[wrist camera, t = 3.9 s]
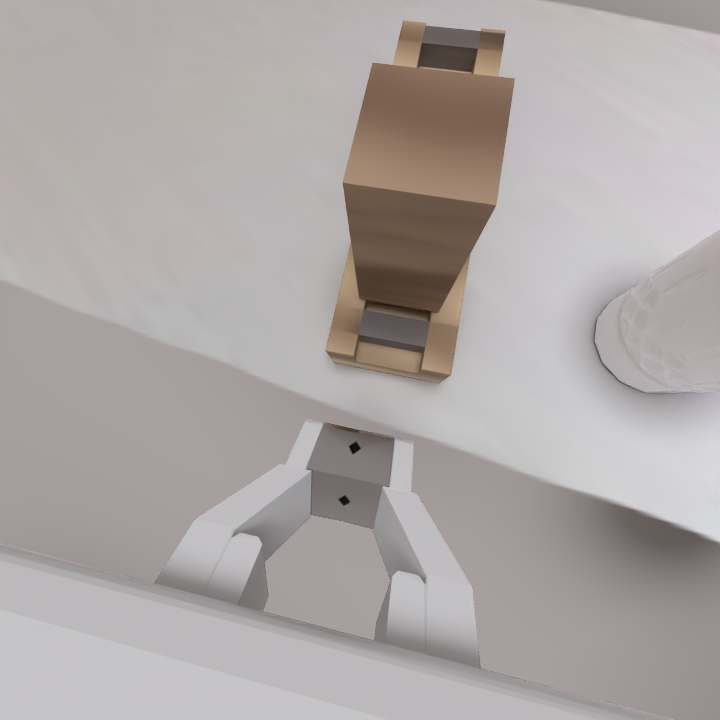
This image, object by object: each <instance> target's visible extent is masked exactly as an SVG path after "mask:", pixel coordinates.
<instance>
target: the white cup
mask: <svg viewBox="0 0 720 720" xmlns="http://www.w3.org/2000/svg"><path fill="white" fill-rule="evenodd" d="M594 341H595V344H596V347H597V349H598V352H599V355H600V358H601V360H602V363H603V364H604V365H605V366H606V367H607V368H608V369H609V370H610V371H611V372H612V373H613V374H614V376H615V377H616V378H617V379H618V380H619V381H621V382H623V383H625V384H627V385H629V386H632V387H634V388H636V389H638V390H640V391H643V392H647V393H680V392H698V393H712V392H720V230H719V231H717V232H715V233H714V234H712V235H711V236H709V237H707V238H706V239H704V240H702V241H701V242H699V243H698V244H696V245H694V246H693V247H691V248H690V249H688V250H687V251H685V252H683V253H682V254H680V255H679V256H677V257H676V258H674V259H673V260H671V261H670V262H669V263H667V264H666V265H664V266H662V267H661V268H659V269H658V270H656V271H655V272H653V273H651V274H650V275H649V276H647V277H646V278H645V279H644V280H642V281H641V282H640V283H639V284H637V285H636V286H634V287H633V288H631V289H629V290H628V291H626V292H624V293H623V294H621V295H619V296H618V297H616V298H614V299H613V300H611V301H610V302H609V303H608V305H607V306H606V307H605V309H604V310H603V311H602V313H601V314H600V315H599V317H598V318H597V323H596V331H595V339H594Z"/></svg>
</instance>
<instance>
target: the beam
mask: <svg viewBox="0 0 720 720" xmlns="http://www.w3.org/2000/svg"><path fill="white" fill-rule="evenodd" d="M504 37H505V31H502V30H492V29H481V31H473V30H463V29H453V28H443V27H433V26H426V23H421V22H411V21H403V23H402V28H401V32H400V36H399V41H398V45H397V49H396V53H395V58H394V62H393V65H397V66H406V67H415V68H424V69H433V70H442V71H451V72H460V73H468V74H477V75H486V76H495V77H498V75H499V69H500V63H501V56H502V50H503V44H504ZM469 258H470V255H469V257H468V259H467V260H466V262H465V264H464V266H463V268H462V270H461V272H460V273H459V275H458V277H457V279H456V281H455V283H454V285H453V287H452V288H451V290H450V292H449V294H448V296H447V298H446V300H445V301H444V303H443V305H442V307H441V309H440V311H439V313H438V312H432V311H427V310H422V311H421V312H420V311H415V310H409V309H404V308H398V307H393V306H387V305H381V304H376V301H371V300H365V299H359V294H358V287H357V280H356V273H355V266H354V259H353V252H352V244H351V245H350V249H349V253H348V257H347V262H346V266H345V270H344V274H343V279H342V283H341V287H340V292H339V296H338V300H337V304H336V309H335V313H334V317H333V321H332V326H331V330H330V334H329V338H328V343H327V347H326V352H327V353H328V355H329V356H330V358H331V359H332V361H333V362H334V363H339V364H344V365H350V366H355V367H360V368H365V369H370V370H375V371H380V372H385V373H390V374H395V375H400V376H405V377H410V378H415V379H420V380H425V381H430V382H435V383H440V382H441V381H443V380H444V379H446V378H447V377H448V376H450V375H451V371H452V365H453V359H454V352H455V346H456V340H457V333H458V327H459V321H460V314H461V308H462V302H463V296H464V289H465V283H466V277H467V270H468V264H469Z"/></svg>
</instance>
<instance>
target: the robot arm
mask: <svg viewBox="0 0 720 720" xmlns="http://www.w3.org/2000/svg"><path fill="white" fill-rule="evenodd" d="M413 451H414V442H413V440H408V439H403V438H398V437H395V438H394V437H393V436H388V435H383V434H377V433H372V432H367V431H362V430H355V429H351V428H347V427H342V426H338V425H334V424H330V423H324V422H319V421H315V420H310V419H307V420H306V421H305V422H304V424H303V426H302V428H301V431H300V433H299V435H298V437H297V439H296V442H295V444H294V446H293V448H292V450H291V453H290V454H289V457H288V459H287V461H286V463H285V465H284V464H278V465H277V466H275V467H274V468H272V469H271V470H269V471H268V472H266V473H264V474H263V475H262V476H260V477H258V478H257V479H255V480H254V481H252V482H251V483H249V484H248V485H246V486H245V487H243V488H242V489H240V490H239V491H237V492H236V493H234V494H233V495H231V496H230V497H228V498H227V499H225V500H223V501H222V502H220V503H219V504H217V505H216V506H215V507H213V508H211V509H210V510H209V511H207V512H205V513H204V514H202V515H201V516H199V517H198V518H196V519H195V520H194V521H193V523H192V525H191V526H190V528H189V530H188V531H187V532H186V534H185V536H184V537H183V539H182V540H181V542H180V543H179V546H178V547H177V548H176V550H175V551H174V553H173V554H172V556H171V557H170V559H169V561H168V562H167V564H166V565H165V567H164V568H163V570H162V572H161V573H160V575H159V576H158V578H157V579H156V581H155V582H154V583H152V582H148V581H144V580H141V579H137V578H133V577H129V576H126V575H122V574H118V573H114V572H110V571H106V570H103V569H99V568H95V567H91V566H87V565H84V564H79V563H76V562H72V561H68V560H64V559H60V558H57V557H53V556H49V555H45V554H42V553H37V552H34V551H30V550H26V549H22V548H19V547H15V546H11V545H7V544H3V543H0V720H675V719H671V718H667V717H663V716H659V715H656V714H652V713H648V712H644V711H640V710H637V709H632V708H628V707H625V706H621V705H618V704H614V703H610V702H606V701H602V700H599V699H595V698H591V697H587V696H583V695H579V694H576V693H571V692H568V691H564V690H560V689H556V688H553V687H549V686H545V685H541V684H538V683H533V682H529V681H526V680H522V679H518V678H515V677H510V676H507V675H503V674H499V673H495V672H492V671H488V670H484V669H481V668H480V658H479V648H478V638H477V628H476V618H475V608H474V597H473V587H472V585H471V584H470V582H469V580H468V579H467V577H466V576H465V574H464V572H463V570H462V569H461V567H460V565H459V563H458V562H457V560H456V558H455V557H454V555H453V553H452V552H451V550H450V548H449V546H448V545H447V543H446V541H445V540H444V538H443V537H442V535H441V533H440V531H439V530H438V528H437V526H436V525H435V523H434V521H433V520H432V518H431V516H430V514H429V513H428V511H427V509H426V508H425V506H424V504H423V502H422V501H421V499H420V498H419V496H418V494H416V493H412V473H413ZM310 515H314V516H319V517H324V518H330V519H335V520H339V521H344V522H348V523H351V524H355V525H359V526H363V527H367V528H371V529H373V533H374V535H375V538H376V541H377V544H378V547H379V550H380V552H381V555H382V558H383V561H384V563H385V566H386V569H387V572H388V575H389V577H390V580H391V581H390V584H389V587H388V590H387V593H386V596H385V599H384V602H383V605H382V608H381V611H380V613H379V616H378V619H377V622H376V630H375V638H374V640H370V639H366V638H362V637H358V636H355V635H351V634H347V633H343V632H339V631H335V630H332V629H328V628H324V627H320V626H316V625H313V624H309V623H305V622H301V621H297V620H293V619H290V618H285V617H282V616H278V615H274V614H271V613H267V612H263V609H264V606H265V604H266V601H267V598H268V588H267V580H266V571H265V564H264V562H265V561H266V560H267V559H268V558H269V557H270V556H271V555H272V554H273V553H274V552H275V551H276V550H277V549H278V548H279V547H280V546H281V545H282V544H283V543H284V542H285V541H286V540H287V539H288V538H289V537H290V536H291V535H292V534H293V533H294V532H295V531H296V530H297V529H298V528H299V527H300V526H301V525H302V524H303V523H305V521H307V520H308V519H309V518H310Z"/></svg>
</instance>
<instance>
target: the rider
mask: <svg viewBox="0 0 720 720" xmlns="http://www.w3.org/2000/svg"><path fill="white" fill-rule="evenodd" d="M514 80H515V79H513V78H504V77H495V76H486V75H477V74H468V73H460V72H451V71H442V70H433V69H424V68H415V67H406V66H397V65H388V64H379V63H373V64H372V68H371V72H370V76H369V80H368V84H367V88H366V92H365V96H364V100H363V104H362V108H361V112H360V116H359V120H358V124H357V128H356V132H355V136H354V140H353V144H352V148H351V152H350V156H349V160H348V164H347V168H346V172H345V176H344V180H343V188H344V195H345V202H346V209H347V216H348V223H349V230H350V237H351V244H352V252H353V259H354V266H355V273H356V280H357V287H358V294H359V299H365V300H371V301H376V304H381V305H387V306H393V307H398V308H404V309H409V310H415V311H420V312H421V311H422V310H427V311H432V312H438V313H439V311H440V309H441V307H442V305H443V303H444V301H445V300H446V298H447V296H448V294H449V292H450V290H451V288H452V287H453V285H454V283H455V281H456V279H457V277H458V275H459V273H460V272H461V270H462V268H463V266H464V264H465V262H466V260H467V259H468V257H469V255H470V253H471V251H472V249H473V247H474V246H475V244H476V242H477V240H478V238H479V236H480V234H481V232H482V231H483V229H484V227H485V225H486V223H487V221H488V219H489V218H490V216H491V214H492V212H493V210H494V208H495V206H496V203H497V196H498V189H499V182H500V176H501V169H502V162H503V155H504V148H505V142H506V135H507V128H508V121H509V114H510V108H511V101H512V94H513V87H514Z"/></svg>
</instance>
